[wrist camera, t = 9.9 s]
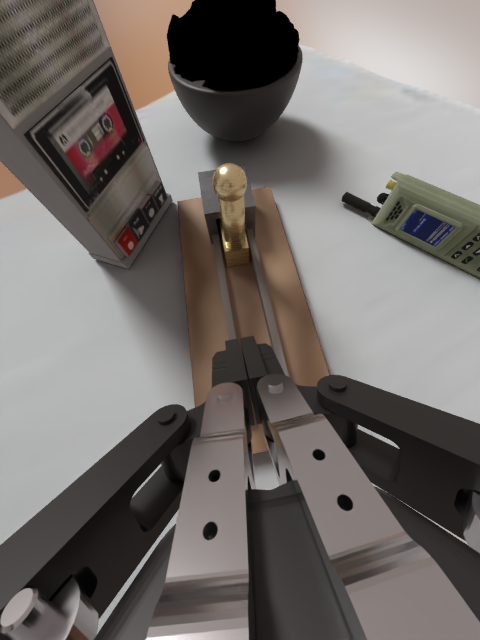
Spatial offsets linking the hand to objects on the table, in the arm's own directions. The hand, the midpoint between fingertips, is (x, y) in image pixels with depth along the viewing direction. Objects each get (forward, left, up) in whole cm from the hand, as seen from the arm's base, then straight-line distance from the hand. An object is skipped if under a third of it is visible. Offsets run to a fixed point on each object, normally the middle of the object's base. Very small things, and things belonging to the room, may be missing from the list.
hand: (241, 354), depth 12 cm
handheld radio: (+27, +15, -15) cm, 35 cm away
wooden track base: (+2, +11, -15) cm, 18 cm away
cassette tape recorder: (-12, +26, -15) cm, 32 cm away
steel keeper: (+2, +22, -13) cm, 26 cm away
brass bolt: (+2, +19, -13) cm, 22 cm away
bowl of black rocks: (+7, +46, -15) cm, 49 cm away
